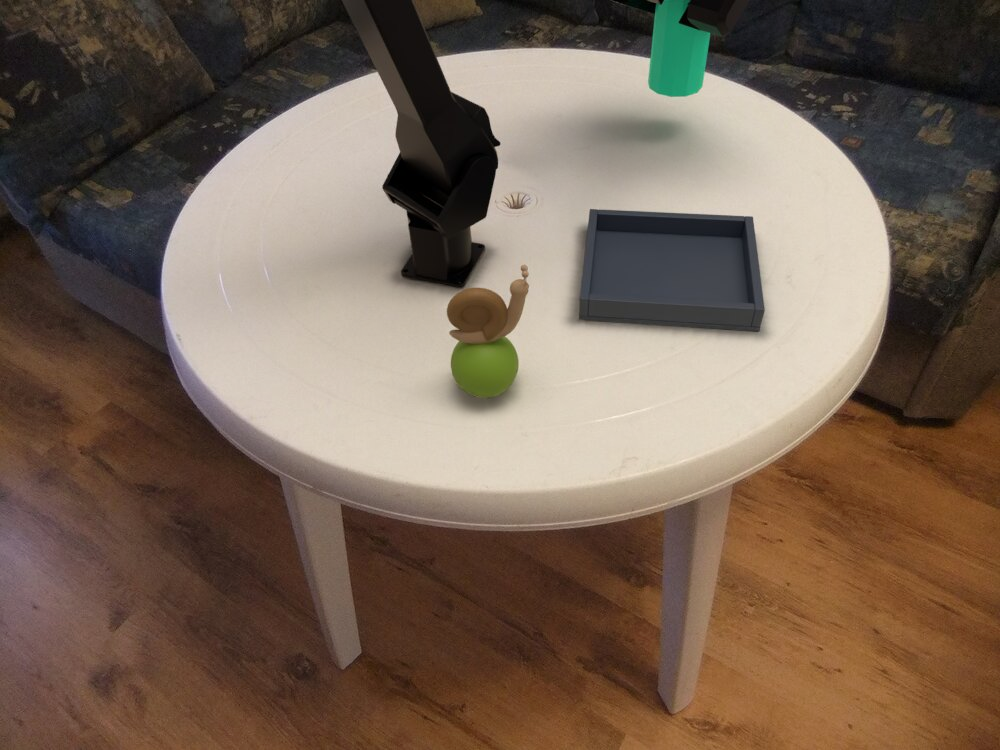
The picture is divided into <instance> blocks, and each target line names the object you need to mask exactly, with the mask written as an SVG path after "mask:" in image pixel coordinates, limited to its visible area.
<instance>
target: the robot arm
mask: <svg viewBox="0 0 1000 750" xmlns="http://www.w3.org/2000/svg"><path fill="white" fill-rule="evenodd" d="M610 1H611V2H614V3H617V4H621V5H623V6H626V7H629V8H632V9H636V10H638V11H642V12H645V13H649V14H652V15H655V8H656V3H657V4H660V5H662V3H663V1H664V0H610ZM750 1H751V0H690V2H689V3H688V6H687V8H686V10H685V12H684V13H683V15H682V17H681V19H680V20H679V22H678V23H679V24H682V25H685V26H688V27H691V28H694V29H697V30H700V31H705V32H709V33H710V34H712V35H715V36H718V37H721V38H724V37H725V36H728V35H730V34H731V33H732V31H733V30H734V28H735V26H736V25H737V23H738V21H739V19H740V18H741V17H742V14H743V13H744V12H745V9H746V8H747V6H748V4H749V3H750ZM341 2H342V4H343V6H344V7H345V9H346V12H347V14H348V16H349V18H350V19H351V22H352V24H353V26H354V28H355V30H356V32H357V34H358V36H359V38H360V40H361V42H362V44H363V46H364V48H365V50H366V52H367V55H368V56H369V58H370V60H371V61H372V64H373V65H374V68H375V70H376V71H377V73H378V76H379V78H380V80H381V82H382V84H383V86H384V87H385V90H386V92H387V93H388V96H389V98H390V99H391V102H392V104H393V105H394V108H395V110H396V113H397V117H396V118H397V119H396V125H395V139H396V143H397V146H398V150H399V153H398V155H397V156H396V158H395V161H394V162H393V164H392V167H391V168H390V171H389V172H388V174H387V176H386V178H385V180H384V182H383V184H382V186H381V189H382V191H383V192H384V194H385V196H386V197H387V198H388V200H389V201H390V202H391V203H392V204H395V205H397V206H398V207H400V208H402V209H403V210H405V212H406V217H407V219H406V220H407V228H408V234H409V240H410V248H411V255H410V256H409V257H408V259H407V261H406V262H405V264H404V266H403V267H402V268H401V270H400V275H401V277H402V278H405V279H410V280H415V281H421V282H426V283H430V284H436V285H441V286H445V287H446V286H447V287H452V288H455V289H456V288H457V289H463V288H464V287H465V286H466V285H467V284H468V281H469V280H470V278H471V276H472V275H473V272H474V271H475V269H476V268H477V266H478V264H479V263H480V260H481V259H482V257H483V256H484V253H485V252H486V245H485V244H483V243H479V242H473V241H472V230H471V227H472V226H474V225H476V224H477V223H480V222H481V221H482V220H485V219H486V218H487V216H488V212H489V206H490V201H491V199H492V194H493V193H492V192H493V189H494V184H495V180H496V174H497V170H498V168H499V156H498V151H497V149H496V148H497V147H500V146H501V141H500V140H499V139H497V138H496V137H495V135H494V132H493V129H492V126H491V121H490V117H489V114H488V111H487V110H486V108H485V107H483V106H481V105H479V104H477V103H475V102H473V101H471V100H470V99H467V98H465V97H463V96H461V95H459V94H457V93H455V92H453V91H451V89H450V85H449V84H448V81H447V78H446V77H445V74H444V72H443V69H442V67H441V65H440V62H439V59H438V58H437V55H436V52H435V50H434V48H433V45H432V43H431V40H430V38H429V35H428V33H427V30H426V28H425V26H424V23H423V22H422V21H423V20H422V19H421V16H420V14H419V11H418V9H417V6H416V5H415V2H414V0H341Z"/></svg>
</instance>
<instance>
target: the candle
mask: <svg viewBox="0 0 1000 750" xmlns="http://www.w3.org/2000/svg"><path fill="white" fill-rule="evenodd" d="M689 2H690V0H664V1H663V3H662V5H660V4H657V3H656V8H655V14H654V19H653V30H652V39H651V49H650V59H649V66H648V67H649V69H648V77H647V78H648V79H647V83H648V88H649V89H650V90H652V92H654V93H656V94H657V95H661V96H666V97H669V98H682V97H684V98H685V97H689V96H692V95H695V94H698V93H699V91H700V90H702V88H703V86H704V85H703V84H704V77H705V71H706V66H707V59H708V52H709V46H710V41H711V33H709V32H705V31H700V30H697V29H694V28H691V27H688V26H685V25H682V24H679V23H678V22H679V20H680V19H681V17H682V15H683V13H684V12H685V10H686V8H687V6H688V3H689Z"/></svg>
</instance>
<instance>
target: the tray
mask: <svg viewBox="0 0 1000 750" xmlns="http://www.w3.org/2000/svg"><path fill="white" fill-rule="evenodd" d="M755 229H756V228H755V222H754V216H753V215H751V216H750V215H732V214H730V215H729V214H707V213H705V214H704V213H686V212H664V211H663V212H662V211H641V210H622V209H621V210H620V209H618V210H617V209H599V208H597V209H596V208H589V213H588V222H587V231H586V239H585V247H584V248H585V249H584V256H583V265H582V274H581V282H580V290H579V302H578V320H579V321H589V322H590V321H593V322H606V323H607V322H609V323H624V324H640V325H651V326H652V325H653V326H655V325H656V326H670V327H683V328H684V327H685V328H687V327H688V328H700V329H717V330H733V331H746V332H748V331H749V332H760V330H761V325H762V322H763V319H764V314H765V311H766V307H765V302H764V301H765V300H764V293H763V284H762V278H761V277H762V276H761V269H760V261H759V260H760V259H759V255H758V254H759V253H758V246H757V239H756V238H757V237H756V230H755Z"/></svg>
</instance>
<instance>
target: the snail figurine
mask: <svg viewBox="0 0 1000 750" xmlns="http://www.w3.org/2000/svg"><path fill="white" fill-rule="evenodd" d="M520 271H521V277H522V278H523V279H522V278H517V279H515V280H513V281H512V282H511V283H510V286H509V292H510V295H511V296H510V299H509V303H508V306H507V304H506V302H505V300H504V299H503V297H501V296H500V294H498V293H497V292H495V291H493V290H491V289H489V288H485V287H469V288H466V289H463V290H461V291H458V292H457V293H456V294H454V295H453V296H452V298H451V299H450V300H449V302H448V304H447V308H446V316H447V319H448V321H449V323H450V324H451V325H452V326H453V327H454V328H456V329H451V330H449V332H448V333H449V335H450V336H451V337H452V338H453V339H455V340H457V341H458V342H457V343H456V345H455V346H454V348H453V350H452V353H451V357H450V370H451V374H452V377H453V379H454V381H455V383H456V384H457V386H458V387H460V389H461V390H463V391H464V392H466V394H469V395H471V396H474V397H477V398H492V397H496V396H498V395H501V394H502V393H504V392H506V391H507V390H508V389H509V388H510V387H511V386H512V385H513V383H514V382H515V379H516V377H517V375H518V371H519V356H518V352H517V350H516V348H515V346H514V344H513V342H511V340H510V339H509V338H508V337H507V336H509V334H511V332H513V331H514V330H515V328H516V327H517V326H518V324H519V322H520V320H521V317H522V314H523V311H524V307H525V304H526V298H527V295H528V294H529V288H530V284H529V283H528V282H527V279H528V277H529V271H528V265H526V264H522V265H521V266H520Z"/></svg>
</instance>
